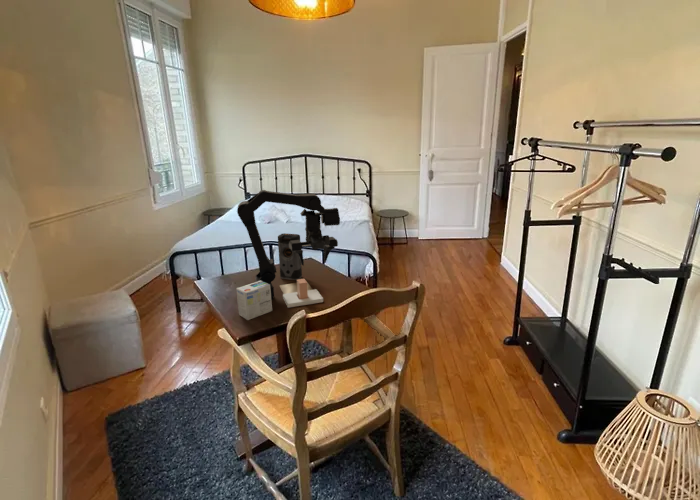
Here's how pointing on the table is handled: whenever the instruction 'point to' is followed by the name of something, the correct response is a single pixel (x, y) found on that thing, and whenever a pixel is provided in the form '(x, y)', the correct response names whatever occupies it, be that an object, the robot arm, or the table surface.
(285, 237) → the electronic device
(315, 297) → the white slotted plate
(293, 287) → the pad
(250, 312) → the light bulb box
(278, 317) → the table surface
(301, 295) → the plug
